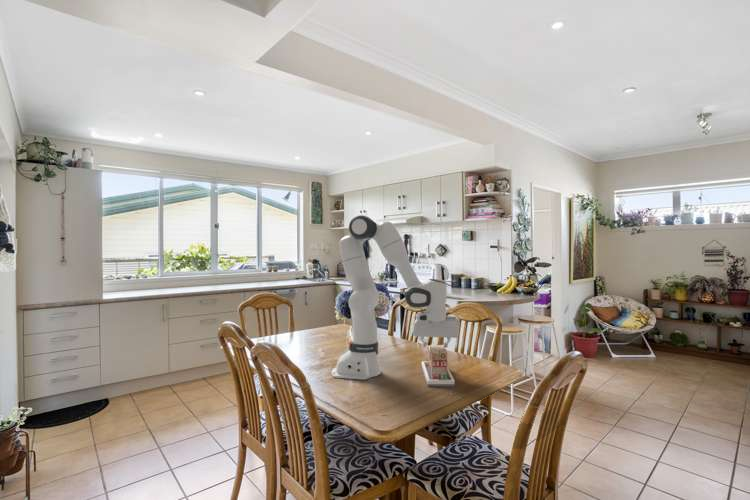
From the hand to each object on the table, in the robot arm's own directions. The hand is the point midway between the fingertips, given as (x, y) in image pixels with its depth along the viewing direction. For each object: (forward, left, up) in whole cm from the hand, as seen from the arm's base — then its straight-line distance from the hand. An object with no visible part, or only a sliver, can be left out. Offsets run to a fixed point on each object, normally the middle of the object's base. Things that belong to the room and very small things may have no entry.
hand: (435, 346), depth 164 cm
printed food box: (+1, 0, -12) cm, 12 cm away
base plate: (+1, 0, -13) cm, 13 cm away
